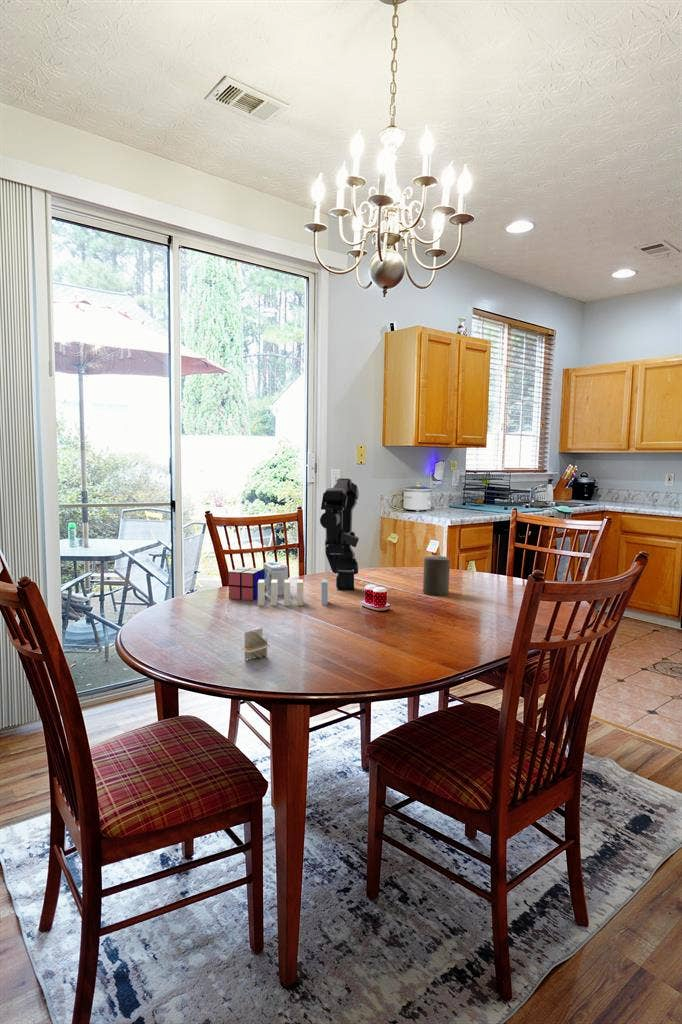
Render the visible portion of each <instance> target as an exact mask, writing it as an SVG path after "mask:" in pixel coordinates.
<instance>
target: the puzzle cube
mask: <svg viewBox="0 0 682 1024" xmlns="http://www.w3.org/2000/svg"><path fill="white" fill-rule="evenodd" d="M259 580H265V569H263V567H262V568H260V567H259V568H257V567H248V566H247V567H244V566H240V567H238V568H235V569H232V570H230V571H228V599H229V600H237V599H238V600H240V601H248V600H249V601H252V602H254V601H256V600H258V581H259Z"/></svg>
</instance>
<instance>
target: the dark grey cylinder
mask: <svg viewBox="0 0 682 1024" xmlns="http://www.w3.org/2000/svg"><path fill="white" fill-rule="evenodd" d="M423 558H424V559H423V561H424V562H423V579H422V580H423V581H422V583H423V584H422V592H423V594H425V595H428V596H429V595H430V596H433V597H434V596H435V597H441V596H442V597H443V596H448V595H449V594H450V593H449V592H450V591H449V588H450V587H449V586H450V567H451V565H450V564H451V563H450V561H451V558H450V557H447V556H442V555H438V554H436V555H426V556H424V557H423Z"/></svg>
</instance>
